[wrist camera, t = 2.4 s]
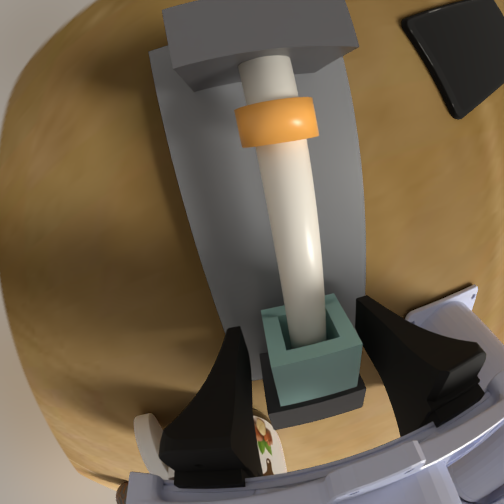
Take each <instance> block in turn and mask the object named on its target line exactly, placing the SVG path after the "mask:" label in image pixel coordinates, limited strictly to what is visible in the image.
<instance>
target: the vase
mask: <svg viewBox="0 0 504 504" xmlns="http://www.w3.org/2000/svg"><path fill="white" fill-rule="evenodd" d="M127 490H128V482H125V483H123V484H121V485H120V486H119V488H118V490H117V493H116V501H117V504H126V498H127Z"/></svg>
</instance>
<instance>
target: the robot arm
mask: <svg viewBox="0 0 504 504" xmlns="http://www.w3.org/2000/svg"><path fill="white" fill-rule="evenodd" d="M477 291H478V287H477V286H476V285H475V284H474V285H472V286H470V287H467V288H465V289H463V290H461V291H459V292H456V293H454V294H452V295H450V296H447V297H445V298H443V299H440V300H438V301H435V302H433V303H430V304H428V305H425V306H423V307H420V308H418V309H415V310H412V311H410V312H409V313H408V314H407V315H406V318H405V319H403V318H402V317H400V316H398V315H397V314H395V313H393V312H392V311H390V310H388V309H387V308H385V307H384V306H382V305H381V304H379V303H378V302H376V301H375V300H373V299H372V298H370V297H369V296H367V295H366V296H362V297H359V298H356V316H355V329H356V331H357V334H358V336H359V338H360V340H361V341H362V343H363V347H364V349H365V350H366V352H367V354H368V355H369V357H370V359H371V361H372V362H373V364H374V366H375V368H376V369H377V371H378V373H379V375H380V377H381V379H382V381H383V383H384V386H385V388H386V391H387V393H388V396H389V399H390V402H391V405H392V408H393V411H394V414H395V417H396V421H397V424H398V428H399V432H400V436H401V437H400V438H398V439H395V440H393V441H391V442H388V443H386V444H384V445H381V446H378V447H376V448H373V449H371V450H368V451H365V452H362V453H359V454H356V455H353V456H350V457H347V458H344V459H341V460H337V461H334V462H330V463H327V464H323V465H319V466H315V467H311V468H306V469H302V470H297V471H292V472H287V473H281V474H275V475H269V476H263V471H262V466H261V461H260V455H259V450H258V444H257V438H256V431H255V425H254V418H253V408H252V373H251V364H250V358H249V352H248V349H247V346H246V343H245V339H244V336H243V333H242V330H241V326H236V327H231V328H228V329H227V331H226V335H225V338H224V341H223V344H222V347H221V349H220V352H219V354H218V357H217V359H216V361H215V364H214V366H213V368H212V370H211V372H210V374H209V375H208V377H207V379H206V381H205V382H204V384H203V386H202V387H201V389H200V390H199V392H198V393H197V394H196V396H195V397H194V399H193V400H192V401H191V402H190V404H189V405H188V406H187V407H186V408H185V409H184V411H183V412H182V413H181V414H180V415H179V416H178V417H177V418H176V419H175V420H174V421H173V422H172V423H171V424H170V425H168V426H167V427H166V428H165V429H164V430H163V433H162V436H161V440H160V446H159V455H158V456H159V459H160V460H161V461H162V462H163V463H165V464H166V465H167V466H169V467H170V468H171V469H173V470H174V480H163V479H162V478H161V477H160V476H158V475H154V474H149V473H140V472H130V475H129V482H128V490H127V498H126V504H504V345H503V344H502V343H501V341H500V340H499V339H498V338H497V337H496V336H495V335H494V334H493V333H492V331H491V330H490V329H489V328H488V327H487V326H486V325H485V324H484V323H483V322H482V321H481V320H480V319H479V318H478V317H477V316H476V315H475V314H474V313H473V312H472V308H473V305H474V301H475V298H476V295H477Z"/></svg>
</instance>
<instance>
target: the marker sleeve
mask: <svg viewBox="0 0 504 504" xmlns="http://www.w3.org/2000/svg"><path fill="white" fill-rule="evenodd" d="M325 312H326V337H327V341H323V342H320V343H316V344H312V345H308V346H304V347H300V348H296V349H291V342H290V336H289V329H288V323H287V317H286V311H285V305H283V306H278V307H274V308H269V309H265V310H261V315H262V320H263V326H264V331H265V337H266V342H267V348H268V353H269V359H270V365H271V369H272V373H273V377H274V381H275V385H276V389H277V393H278V397H279V401H280V405H281V406H286V405H291V404H295V403H299V402H304V401H308V400H312V399H316V398H319V397H323V396H327V395H330V394H334V393H337V392H341V391H344V390H347V389H350V388H353V387H356V386H357V384H358V377H359V370H360V362H361V354H362V345H363V343H362V341H361V340H360V338H359V336H358V334H357V333H356V331H355V329H354V327H353V325H352V324H351V322H350V320H349V318H348V317H347V315H346V313H345V311H344V310H343V308H342V306H341V305H340V303H339V301H338V299H337V298H336V296H335V294H334V293H333V294H329V295H325Z"/></svg>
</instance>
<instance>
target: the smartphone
mask: <svg viewBox="0 0 504 504" xmlns="http://www.w3.org/2000/svg"><path fill="white" fill-rule="evenodd" d="M401 25H402V28H403V30H404V32H405V33H406V35H407V36H408V38H409V39H410V41H411V42H412V44H413V45H414V47H415V48H416V50H417V52H418V53H419V55H420V56H421V58H422V60H423V61H424V63H425V65H426V67H427V68H428V70H429V72H430V74H431V76H432V77H433V79H434V81H435V83H436V85H437V87H438V89H439V91H440V93H441V95H442V97H443V99H444V101H445V103H446V106H447V108H448V110H449V112H450V114H451V116H452V117H453V118H455V119H462V118H463V117H464V116H466V115H467V114H468V113H469V112H471V111H472V110H473V109H474V108H475V107H477V106H478V105H479V104H480V103H481V102H482V101H484V100H485V99H486V98H487V97H488V96H490V95H491V94H492V93H493V92H494V91H495V90H497V89H498V88H499V87H500V86H501V85H502V84H503V83H504V16H503V14H502V13H501V11H500V9H499V8H498V6H497V4H496V3H495V1H494V0H463V1H459V2H455V3H451V4H447V5H443V6H440V7H437V8H433V9H430V10H427V11H424V12H421V13H418V14H415V15H412V16H410V17H407V18H405V19H403V20H402V22H401ZM408 32H409V33H408ZM426 60H427V61H426ZM434 74H435V75H434Z"/></svg>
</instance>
